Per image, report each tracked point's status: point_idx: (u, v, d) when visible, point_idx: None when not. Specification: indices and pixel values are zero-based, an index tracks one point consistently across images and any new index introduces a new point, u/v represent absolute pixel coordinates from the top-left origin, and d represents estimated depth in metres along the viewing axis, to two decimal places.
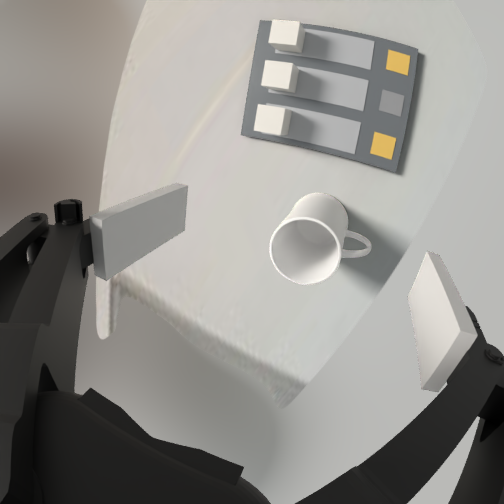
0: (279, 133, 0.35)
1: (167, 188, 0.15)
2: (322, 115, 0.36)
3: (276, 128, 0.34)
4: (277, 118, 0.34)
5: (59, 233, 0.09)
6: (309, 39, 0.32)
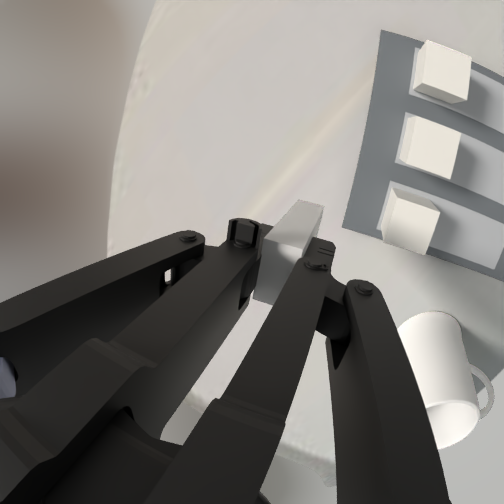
0: (424, 252, 0.20)
1: (299, 206, 0.15)
2: (468, 212, 0.21)
3: (421, 244, 0.19)
4: (426, 227, 0.19)
5: (225, 254, 0.10)
6: None
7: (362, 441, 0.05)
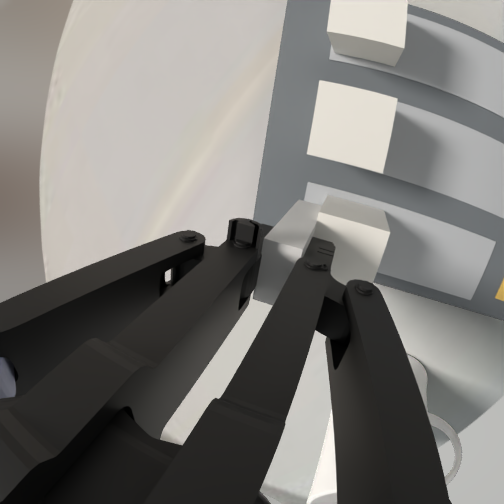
0: None
1: (299, 206, 0.15)
2: (429, 222, 0.16)
3: (361, 279, 0.14)
4: (368, 255, 0.14)
5: (225, 254, 0.10)
6: (409, 36, 0.12)
7: (362, 441, 0.05)
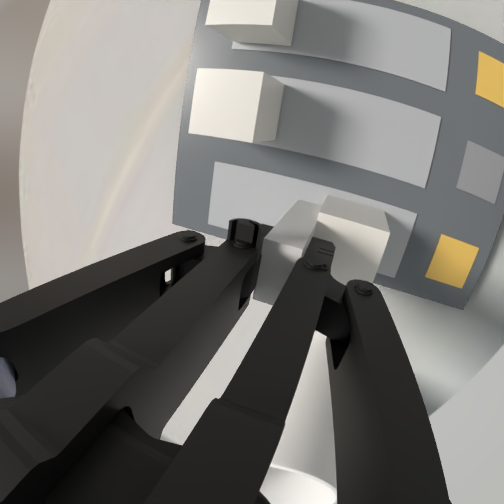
0: None
1: (299, 206, 0.15)
2: (335, 194, 0.17)
3: (360, 279, 0.14)
4: (368, 256, 0.14)
5: (225, 254, 0.10)
6: (307, 16, 0.13)
7: (362, 441, 0.05)
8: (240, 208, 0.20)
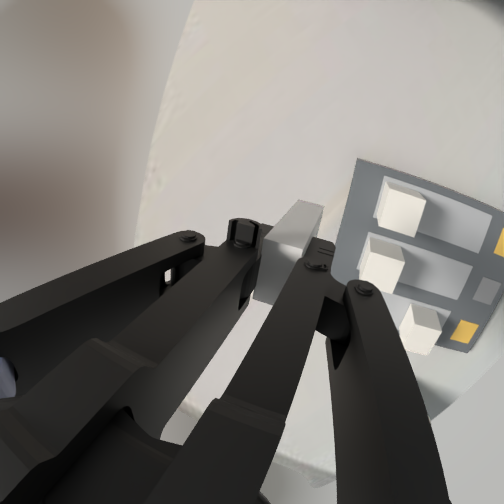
0: (427, 354, 0.27)
1: (299, 206, 0.15)
2: (413, 302, 0.30)
3: (425, 349, 0.27)
4: (431, 340, 0.26)
5: (225, 254, 0.10)
6: None
7: (362, 441, 0.05)
8: None
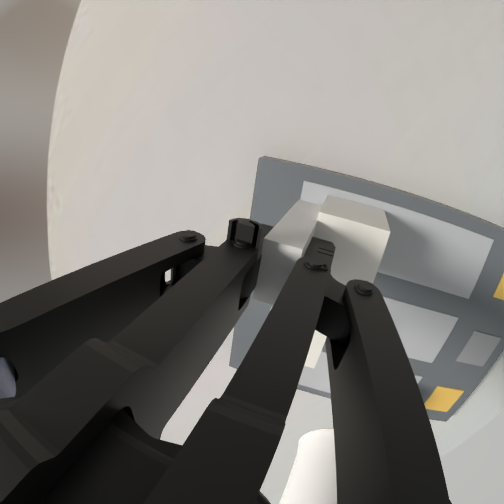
0: None
1: (299, 206, 0.15)
2: None
3: None
4: None
5: (225, 254, 0.10)
6: None
7: (362, 441, 0.05)
8: None
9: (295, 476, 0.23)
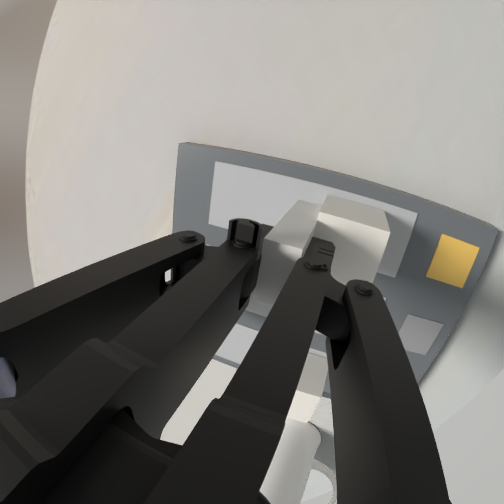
0: (305, 421, 0.20)
1: (299, 206, 0.15)
2: None
3: (301, 415, 0.19)
4: (306, 406, 0.19)
5: (225, 254, 0.10)
6: (276, 200, 0.18)
7: (362, 441, 0.05)
8: (222, 343, 0.25)
9: None
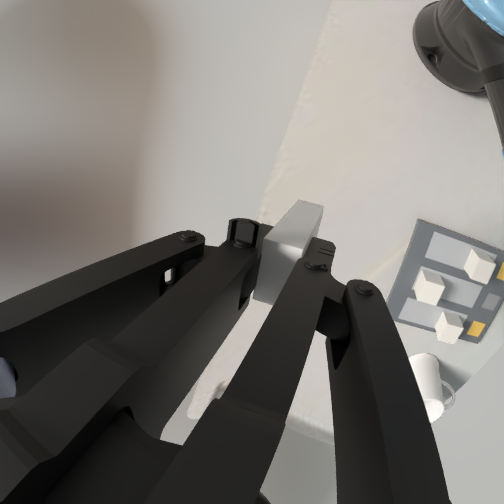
0: (453, 343, 0.40)
1: (299, 206, 0.15)
2: (444, 310, 0.43)
3: (453, 340, 0.40)
4: (456, 334, 0.39)
5: (225, 254, 0.10)
6: (453, 249, 0.39)
7: (362, 441, 0.05)
8: (412, 313, 0.45)
9: None
